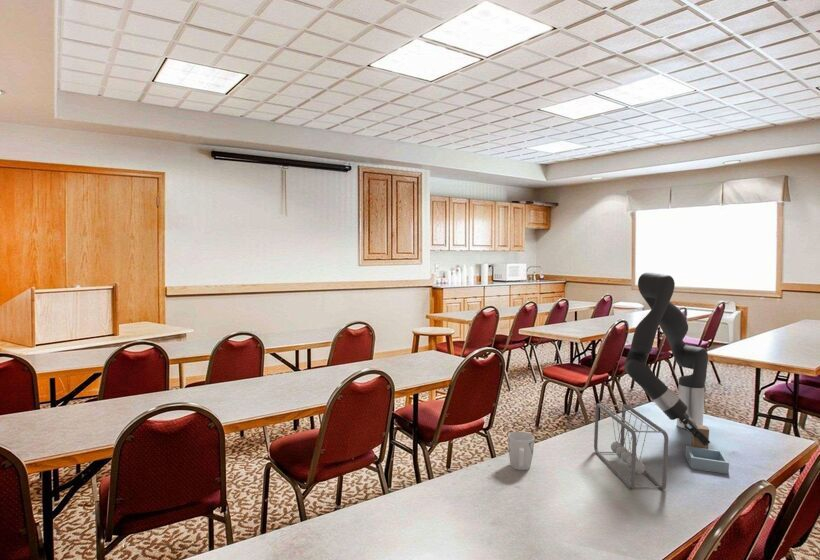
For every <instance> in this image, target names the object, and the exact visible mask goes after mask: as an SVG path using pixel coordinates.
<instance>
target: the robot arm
mask: <svg viewBox="0 0 820 560" xmlns="http://www.w3.org/2000/svg"><path fill="white" fill-rule="evenodd" d="M675 284H676V283H675V280H674V278H673V277H672V276H671V275H669V274H664V273H656V272H644V273H642V274H641V275H640V276H639V278H638V281H637V288H638V290H639V293H640V295H641V296H642V298H643V299H644V300H645V302H646V304H647V305H648V306H649V308H650V311H649V312H648V313H647V315H645V317H643V318H642V319H641V320H640V321H639V323H638V324H637V326H636V327H635V329H634V333H633V337H632V339H631V344H630V347H629V350H628V354H627V356H626V359H625V362H624V371H625V373H626V374H627V375H628V376H629V377H630V378H631V379H632V380H633V381H634V382H635V383H636V384H637V385H639V387H640V388H642V390H643V391H644V393H646V395H647V396H648V397H649V398H650V399H651V400H652V401H653V403H654V404H655V405H656V406H657V407H658V408H659V409H660V410H661V411H662V413H663V414H664V415H665V416H666V417H668V419H669V420H671V421H675V420H676V426H677V427H679V428H680V429H683V430H687V431H688V432H689V433H690V434H691V435H692V434H693V435H694V437H696V438H698V439H699V440H700V441H701V442H702V443H703V444H704V445H707V444H708V445H709V444H710V443H711V441H710V440H708V439H707V438H706V437H705V436H704V435H703V434H702V432H701V431H700V430H699V429H698V426H697V425H704V410H705V408H704V407H705V389H706V388H705V386H706V385H705V384H706V380H707V372H708V371H707V370H708V364H709V363H708V362H709V354H708V351H707V349H706V348H704V347H700V346H695V345H689V344H686V343H685V342H684V338H685V337H686V335H687V334H688V331H689V324H688V322H687V320H686V317H685V315H684V313H683V312H682V310H680V309H679V308H678V307H677V306H676V305H675V304H673V303H672V302H671V299H672V296H673V294H674V291H675ZM659 327H660V328H661V331H662V333H663V334H664V337H665V338H666V340H667V342H668V344H669V346H670V348H671V349H670V350H671V353H672V355H673V358H674V360H675V362H676V364H677V365H678V366H679V367H681V368H685V369H690V370H693V371H692V373H690V374H688V375H682V376H680V377H679V378H678V389H677V391H678V394H676V393H675V392H674V391H673V390H672V389H670V388H669V387H668V386H667V385H666V383H664V382H663V381H662V380H661V379H660V378H658V377H657V376H656V374H655V373H654V372H653V371H652V369H650V368H649V366H648V365H647V359H648V358H649V354H650V353H651V352H652V349H653V346H654V341H655V339H656V334H657V331H658V329H659ZM694 425H695V426H694ZM695 431H698V432H697V433H694V432H695Z"/></svg>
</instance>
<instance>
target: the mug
mask: <svg viewBox="0 0 820 560" xmlns="http://www.w3.org/2000/svg"><path fill="white" fill-rule="evenodd" d="M507 445H508V446H507V449H508V458H509V464H510V466H511V468H512V469H514V470H518V471H526V470H527V471H528V470H529V469H530V468H531V466H532V461H533V457H534V456H533V455H534V450H535V436H534V435H533V434H531V433H530V432H525V431H511V432H509V433H508V435H507Z"/></svg>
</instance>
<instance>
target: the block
mask: <svg viewBox="0 0 820 560" xmlns="http://www.w3.org/2000/svg"><path fill="white" fill-rule="evenodd" d="M694 426H695V425H694ZM697 426H698V429H699V430H700V431H701V432H702V434H703V435H704V436H705V437H706V438H707V439H708V440H709V439H710V429H709V427H708V426H707V425H704V424H703V425H697ZM697 432H698V431H695V432H694V433H697ZM709 441H710V440H709ZM690 442H691V445H690V447H697V448H704V449H709V444H707V445H704V444H703V443H702V442H701V441H700V440H699V439H698V438H696V437H694V435H693V434H692V433H691V441H690Z"/></svg>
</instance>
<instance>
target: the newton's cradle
mask: <svg viewBox="0 0 820 560" xmlns="http://www.w3.org/2000/svg"><path fill="white" fill-rule="evenodd" d="M610 407H621V416H620V414H618V413H616V412H615V411H614V410H613V409H611V408H610ZM594 409H595V411H594V433H593V434H594V437H593V438H594V439H593V440H594V441H593V450H594V452H595V454H596V455H597V456H598V457H599V458H600V459H601V460H602V461H603V462H604V464H605V465H607V467H608V468H609V469H610V470H611V471H612V472H613V473H614V474H615V475H616V476H617V477H618V478H619V479H620V481H621V482H622V483H623V484H624V485H625V486H626V487H627V488H628V489H630V490H633V489H634V488H658V489H660V490H666V488H667V481H668V464H669V463H668V462H669V461H668V459H669V435H668V433H667V431H666V430H664V429H663V428H662V427H660V426H659V425H658V424H656V423H654V422H653V421H652V420H650V419H649V418H647V417H646V416H645V415H643V414H641V413H640V412H639V411H637V410H636V409H634V408H633V407H631V406H630V405H628V404H627V403H624V404H623V405H622V404H601V403H596V404H595V407H594ZM600 409H601V410H602V411H603V412H604V413H606V415H608V416H609V417H611V418H612V420H613V421H615V422H616V424H617V425H620V428H619V426H617V430H618V431H619V433H618V440H617V437H616V436H614V439H615V441H612V443H611V444H610V450H611V451H599V449H598V439H599V436H598V435H599V414H600V413H599V412H600ZM627 413H628V414H629V415H630V416H629V419H628V420H629V421H626V414H627ZM633 416H634V418H635V421H634V425H632V424H630V423H631V419H632V417H633ZM637 420H639V422H640V426H639V430H638V429H637V428H636V424H637ZM643 424H644V425H645V426H646V430H641V429H642V426H643ZM612 426H613V427H615V424H614V422H612ZM648 428H650V429H652V430H648ZM625 430H626V432H625ZM613 432H614V433H613V434H616V432H615V429H613ZM637 433H638V435H637ZM641 433H645V435H644V440H643V444H642V449H641V452H640V456H639V459H638V455H637V445H638V442H639V437H640V434H641ZM648 433H654V434H655V433H658V434H660V433H661V434H662V435H663V457H662V458H663V459H662V460H663V461H662V479H661V480H662V481H661V482H662V483H660V482H659V481H658V480H657V479H656V478H655V477H654V476H653V475H651V474H650V473H649V472H648V471H647V470H646V469H645V468H646V467H645V464H644V463H643V462H641V457H642V454H643V449H644V445H645V441H646V436H647V434H648ZM629 434H631V438H630V435H629ZM627 435H628V436H627ZM627 437H628V438H630V439H628V441H629V442H628V444H629V447H628V449H627V447H626V446H627V445H626V438H627ZM619 441H620V442H619ZM603 454H616V456H617V457H618V458H620V459H621V461H622V462H623V463H626V465H627V467H628V468H630V482H629V481H628V480H627V479H626V478H625V477H624V476H623V474H621V473H620V472H619V471H618V469H616V467H614V465H612V463H610V461H609V460H608V459H607V458H606V457H605V456H604V455H603ZM636 474H638V475H639V474H644V475H645V476H646V477H647V478H648V479H649V480H650V481H651V482H653V484H654V485H635V484H636V483H635V481H636Z"/></svg>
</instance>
